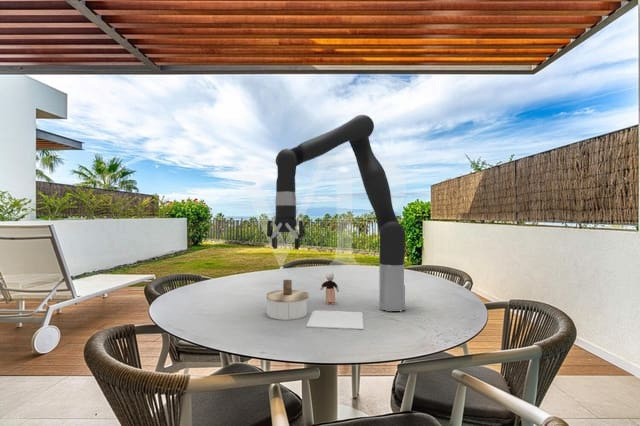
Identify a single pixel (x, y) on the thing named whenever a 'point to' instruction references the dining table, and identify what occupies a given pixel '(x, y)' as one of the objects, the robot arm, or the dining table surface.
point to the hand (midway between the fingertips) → (285, 248)
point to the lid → (287, 294)
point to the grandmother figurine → (330, 289)
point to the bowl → (286, 309)
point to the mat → (336, 320)
